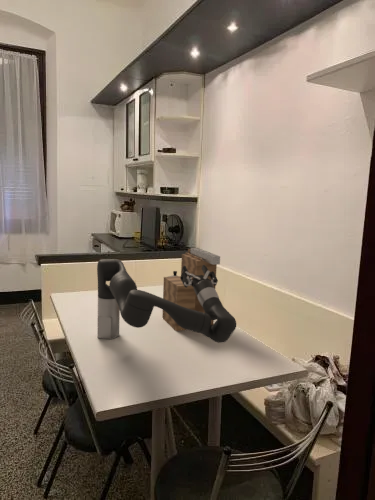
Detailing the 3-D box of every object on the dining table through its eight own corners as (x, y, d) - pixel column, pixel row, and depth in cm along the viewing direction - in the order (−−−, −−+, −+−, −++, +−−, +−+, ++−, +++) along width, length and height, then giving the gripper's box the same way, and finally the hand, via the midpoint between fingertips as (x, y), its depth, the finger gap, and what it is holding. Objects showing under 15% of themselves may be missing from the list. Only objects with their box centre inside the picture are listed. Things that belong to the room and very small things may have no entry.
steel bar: (219, 264, 170) (220, 256, 169) (212, 264, 168) (213, 256, 168) (196, 254, 191) (197, 247, 191) (190, 255, 190) (190, 247, 190)
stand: (213, 326, 184) (217, 254, 179) (175, 331, 177) (178, 256, 171) (197, 314, 200) (200, 248, 195) (162, 318, 193) (164, 249, 188)
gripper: (226, 286, 149) (211, 259, 161) (192, 289, 144) (179, 260, 155) (220, 300, 154) (206, 272, 165) (187, 303, 148) (175, 274, 160)
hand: (193, 266), depth 160 cm, fingers open, 8 cm apart
